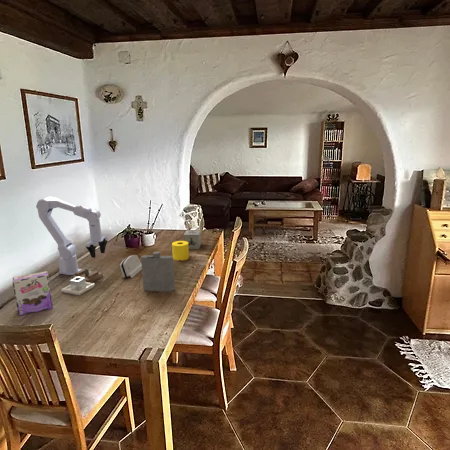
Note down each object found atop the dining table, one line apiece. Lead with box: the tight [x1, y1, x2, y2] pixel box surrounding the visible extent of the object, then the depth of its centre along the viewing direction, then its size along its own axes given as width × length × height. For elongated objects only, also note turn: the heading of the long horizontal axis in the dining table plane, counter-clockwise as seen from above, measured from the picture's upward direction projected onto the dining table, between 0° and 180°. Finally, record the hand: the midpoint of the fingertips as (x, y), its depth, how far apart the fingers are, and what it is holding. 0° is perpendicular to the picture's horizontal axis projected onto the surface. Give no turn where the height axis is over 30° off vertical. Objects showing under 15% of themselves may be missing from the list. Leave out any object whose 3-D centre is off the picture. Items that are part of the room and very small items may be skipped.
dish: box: [61, 282, 96, 296], centre depth 178 cm, size 11×11×2 cm
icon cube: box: [183, 229, 202, 250], centre depth 239 cm, size 10×10×10 cm
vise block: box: [71, 267, 104, 283], centre depth 190 cm, size 13×10×6 cm
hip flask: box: [140, 250, 176, 292], centre depth 174 cm, size 16×4×20 cm, turn 85°
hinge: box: [119, 254, 142, 279], centre depth 198 cm, size 17×5×10 cm, turn 168°
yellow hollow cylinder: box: [171, 240, 190, 262], centre depth 219 cm, size 10×10×9 cm
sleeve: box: [69, 277, 86, 291], centre depth 178 cm, size 5×5×5 cm
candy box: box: [12, 271, 53, 316], centre depth 157 cm, size 14×6×16 cm, turn 117°
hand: (98, 255), depth 197 cm, fingers open, 7 cm apart
